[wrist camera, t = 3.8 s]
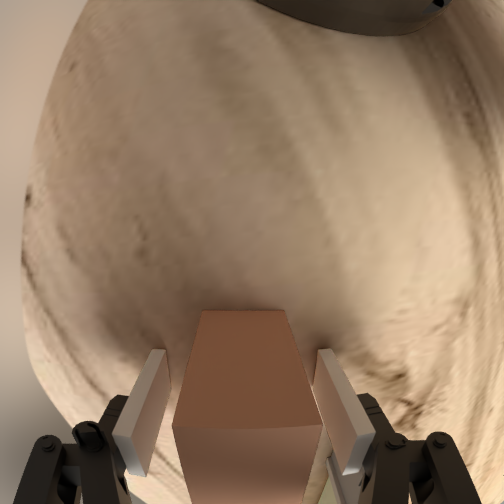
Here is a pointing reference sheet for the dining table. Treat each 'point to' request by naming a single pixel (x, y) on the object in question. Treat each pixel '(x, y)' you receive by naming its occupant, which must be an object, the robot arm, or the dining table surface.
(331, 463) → the frame
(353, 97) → the dining table surface
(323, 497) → the door
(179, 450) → the orange brown rectangular block
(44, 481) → the robot arm
